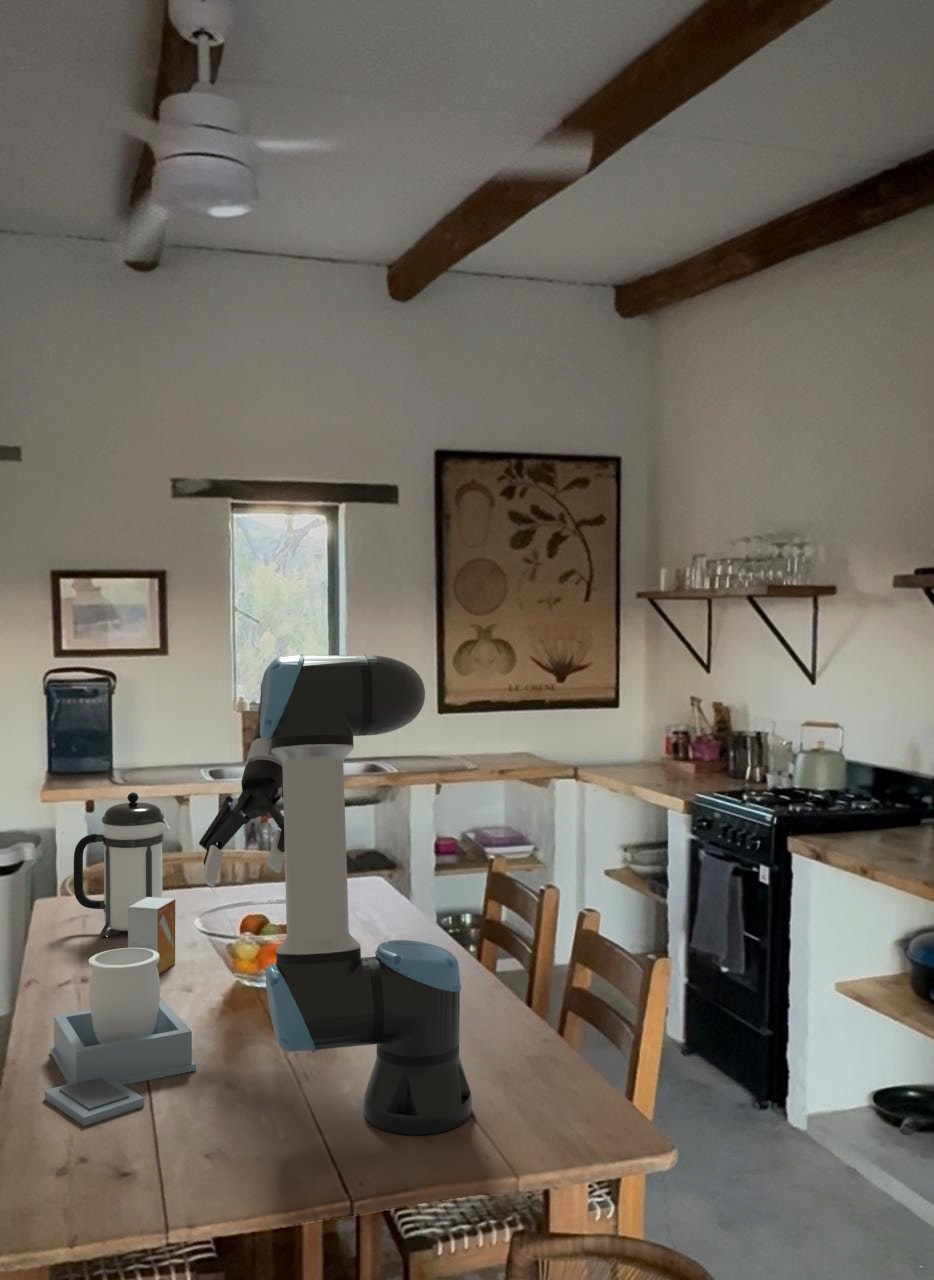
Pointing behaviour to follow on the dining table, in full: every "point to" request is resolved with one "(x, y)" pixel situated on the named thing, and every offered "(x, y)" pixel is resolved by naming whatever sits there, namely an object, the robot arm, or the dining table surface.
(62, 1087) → the lid
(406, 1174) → the dining table surface
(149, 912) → the small box
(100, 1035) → the jar
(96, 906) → the coffee press
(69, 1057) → the housing
